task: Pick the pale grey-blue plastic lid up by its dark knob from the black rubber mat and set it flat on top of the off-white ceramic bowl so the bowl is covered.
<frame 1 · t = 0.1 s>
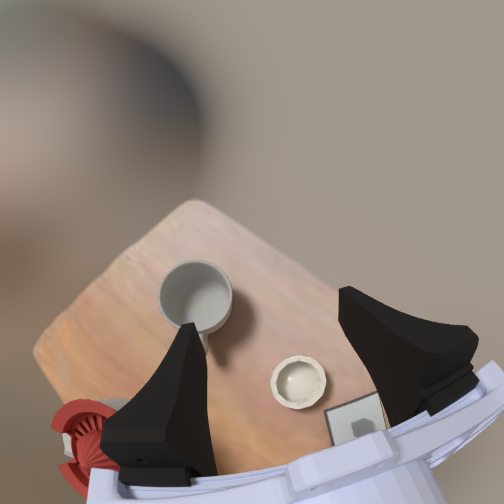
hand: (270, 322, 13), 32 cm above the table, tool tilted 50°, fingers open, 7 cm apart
bowl: (295, 381, 41), on the table
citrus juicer: (143, 435, 37), on the table
lid: (357, 426, 36), resting on mat
teacup: (203, 316, 46), on the table
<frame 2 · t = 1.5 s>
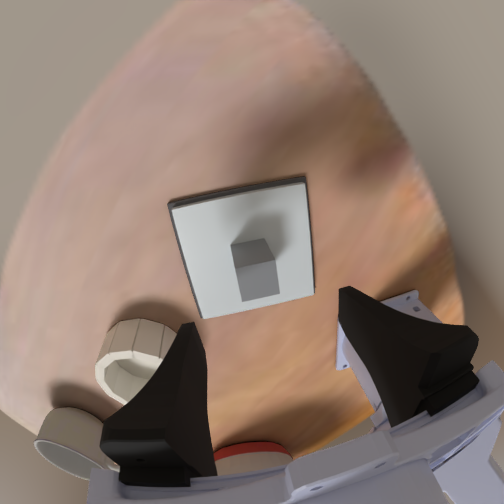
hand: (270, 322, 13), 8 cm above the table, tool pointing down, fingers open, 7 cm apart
bowl: (146, 352, 24), on the table
mat: (248, 251, 21), on the table
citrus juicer: (247, 455, 36), on the table
lid: (248, 253, 20), resting on mat
teacup: (92, 420, 28), on the table
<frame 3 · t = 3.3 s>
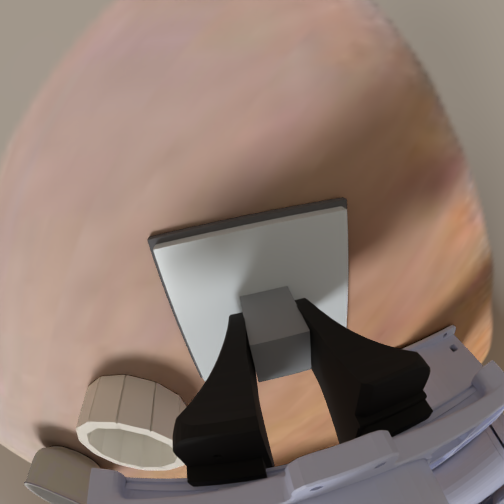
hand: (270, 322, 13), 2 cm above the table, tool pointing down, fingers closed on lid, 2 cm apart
bowl: (136, 408, 18), on the table
mat: (263, 299, 15), on the table
lid: (264, 303, 15), resting on mat, touching gripper
teacup: (84, 458, 22), on the table
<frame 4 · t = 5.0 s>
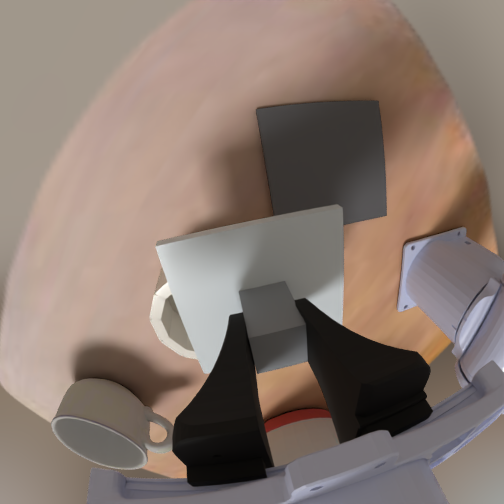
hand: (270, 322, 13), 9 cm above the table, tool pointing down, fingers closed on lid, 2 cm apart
bowl: (207, 290, 22), on the table
mat: (329, 165, 20), on the table
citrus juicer: (292, 429, 34), on the table
lid: (262, 298, 15), point 7 cm above the table, touching gripper
teacup: (122, 394, 27), on the table
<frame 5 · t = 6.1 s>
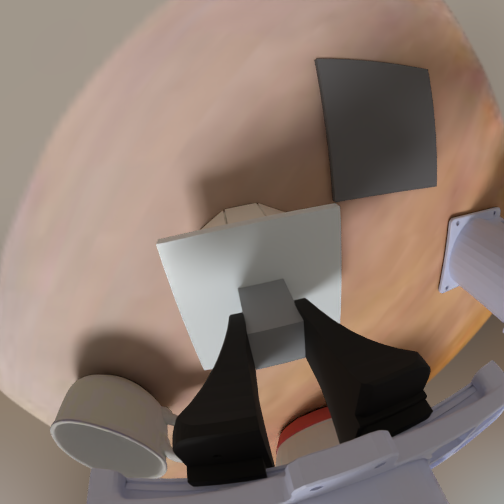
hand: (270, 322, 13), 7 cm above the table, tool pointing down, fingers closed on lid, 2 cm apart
bowl: (250, 262, 19), on the table
mat: (386, 126, 16), on the table
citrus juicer: (320, 428, 31), on the table
lid: (261, 295, 15), point 4 cm above the table, touching gripper
teacup: (133, 393, 24), on the table
when the fingers open (7 cm above the table, at t = 6.5 s): lid stays where it is, resting on bowl.
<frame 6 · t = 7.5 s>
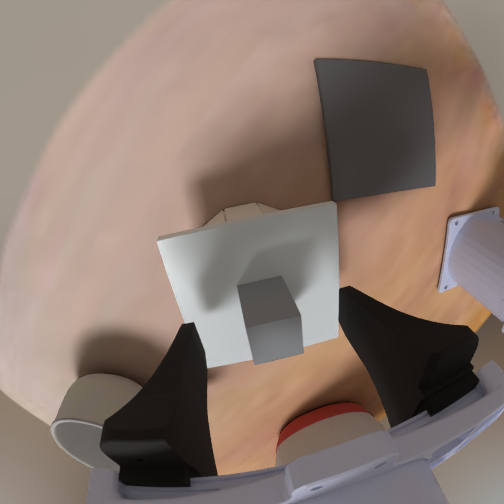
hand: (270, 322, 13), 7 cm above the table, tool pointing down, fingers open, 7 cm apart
bowl: (250, 261, 19), on the table
mat: (385, 126, 17), on the table
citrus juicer: (319, 427, 31), on the table
lid: (260, 293, 16), point 4 cm above the table, touching bowl
teacup: (133, 392, 24), on the table
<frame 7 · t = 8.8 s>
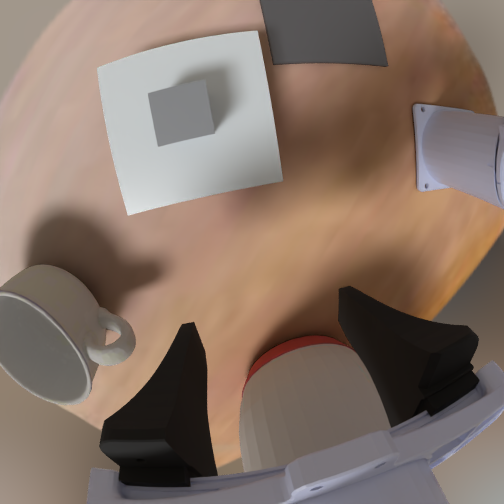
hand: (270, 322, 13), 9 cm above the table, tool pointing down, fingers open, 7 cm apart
mat: (322, 11, 15), on the table
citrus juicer: (297, 375, 29), on the table
lid: (188, 117, 14), point 4 cm above the table, touching bowl
teacup: (78, 302, 22), on the table
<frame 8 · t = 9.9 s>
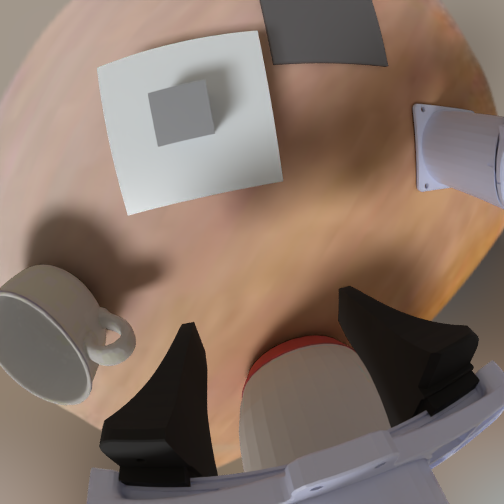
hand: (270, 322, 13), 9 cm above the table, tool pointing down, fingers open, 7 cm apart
mat: (322, 11, 15), on the table
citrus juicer: (297, 375, 29), on the table
lid: (188, 117, 14), point 4 cm above the table, touching bowl
teacup: (78, 302, 22), on the table
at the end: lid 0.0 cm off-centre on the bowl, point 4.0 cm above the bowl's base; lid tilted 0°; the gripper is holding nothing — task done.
